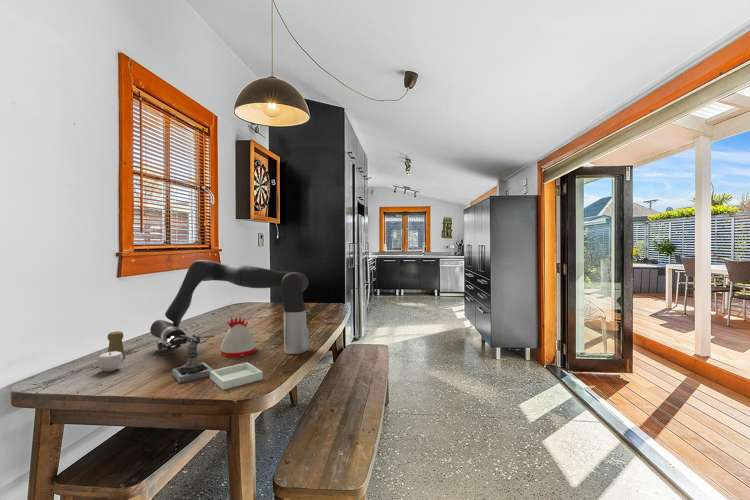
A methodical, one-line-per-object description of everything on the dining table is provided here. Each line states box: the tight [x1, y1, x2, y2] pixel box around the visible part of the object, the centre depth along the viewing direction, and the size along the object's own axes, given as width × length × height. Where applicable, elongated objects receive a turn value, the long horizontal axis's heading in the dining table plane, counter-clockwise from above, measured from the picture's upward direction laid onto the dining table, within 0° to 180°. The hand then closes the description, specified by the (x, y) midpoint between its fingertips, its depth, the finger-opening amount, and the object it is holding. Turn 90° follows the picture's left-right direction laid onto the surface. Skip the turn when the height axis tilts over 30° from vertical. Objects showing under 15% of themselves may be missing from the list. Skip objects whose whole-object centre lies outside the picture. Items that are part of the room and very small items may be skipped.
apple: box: [96, 351, 124, 372], centre depth 131 cm, size 8×8×7 cm
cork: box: [106, 330, 126, 360], centre depth 143 cm, size 6×6×11 cm
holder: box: [171, 362, 214, 384], centre depth 125 cm, size 10×10×2 cm
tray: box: [209, 362, 264, 391], centre depth 121 cm, size 13×13×2 cm
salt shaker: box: [182, 340, 202, 375], centre depth 125 cm, size 6×6×12 cm
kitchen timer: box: [220, 316, 257, 358], centre depth 151 cm, size 14×14×15 cm
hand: (183, 345), depth 133 cm, fingers open, 8 cm apart
